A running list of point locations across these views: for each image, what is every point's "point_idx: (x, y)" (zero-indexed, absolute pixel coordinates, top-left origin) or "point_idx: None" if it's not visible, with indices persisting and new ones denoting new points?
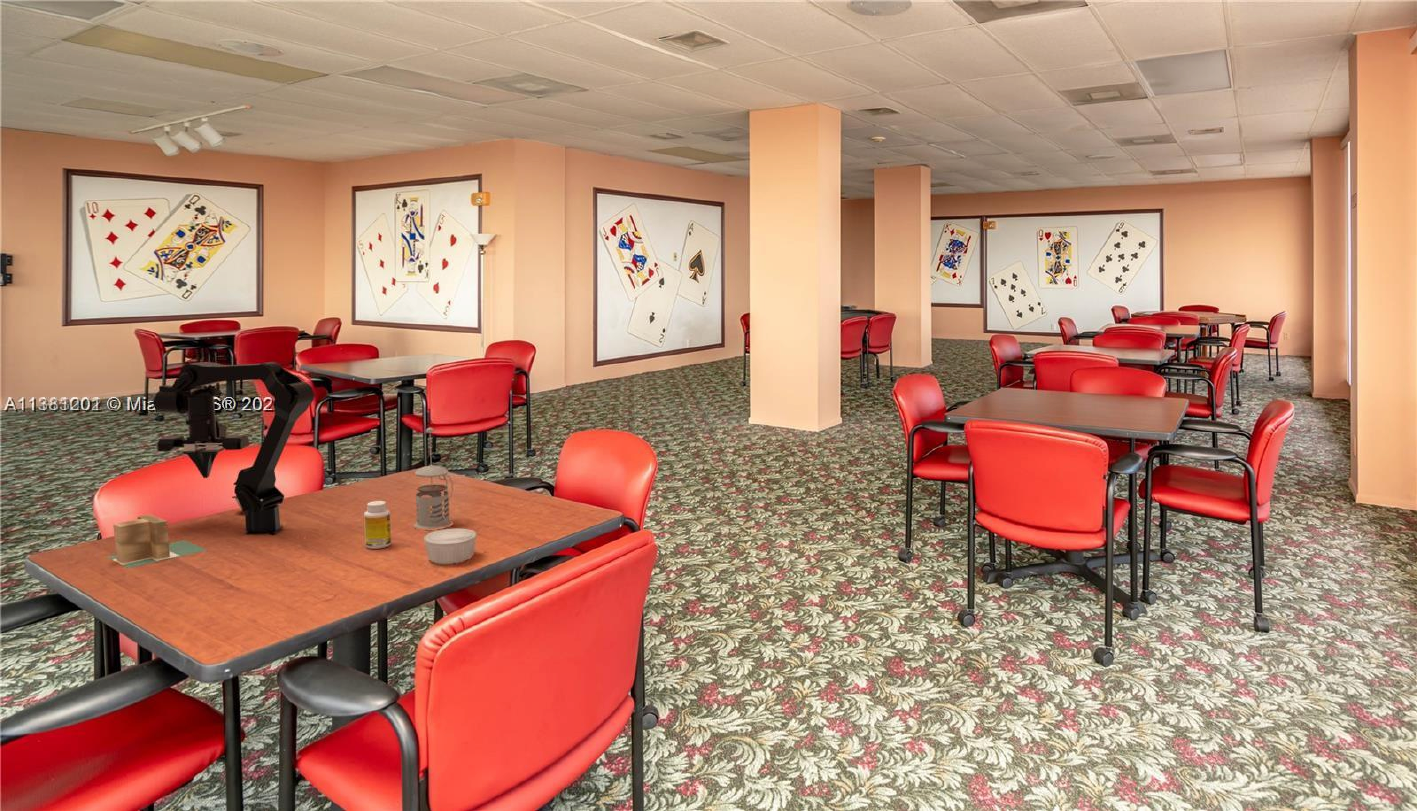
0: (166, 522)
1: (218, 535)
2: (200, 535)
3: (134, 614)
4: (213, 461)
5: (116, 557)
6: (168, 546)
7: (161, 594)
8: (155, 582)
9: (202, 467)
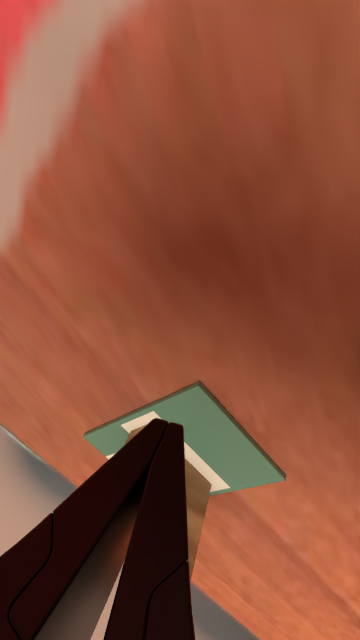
0: (190, 575)
1: (286, 345)
2: (224, 325)
3: (246, 621)
4: (189, 600)
5: (104, 447)
6: (205, 507)
7: (258, 596)
8: (232, 561)
9: (123, 553)
